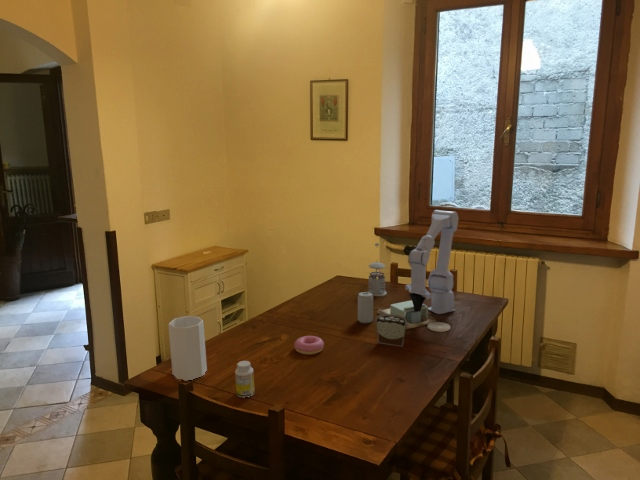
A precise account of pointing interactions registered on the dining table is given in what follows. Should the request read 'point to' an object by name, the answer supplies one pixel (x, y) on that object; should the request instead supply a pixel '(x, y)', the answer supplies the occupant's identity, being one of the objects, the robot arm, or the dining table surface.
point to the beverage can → (365, 307)
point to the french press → (377, 284)
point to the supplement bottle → (244, 379)
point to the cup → (187, 347)
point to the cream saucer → (439, 327)
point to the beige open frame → (424, 319)
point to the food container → (391, 329)
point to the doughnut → (309, 345)
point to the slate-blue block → (413, 317)
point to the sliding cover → (407, 308)
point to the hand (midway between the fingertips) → (417, 310)
